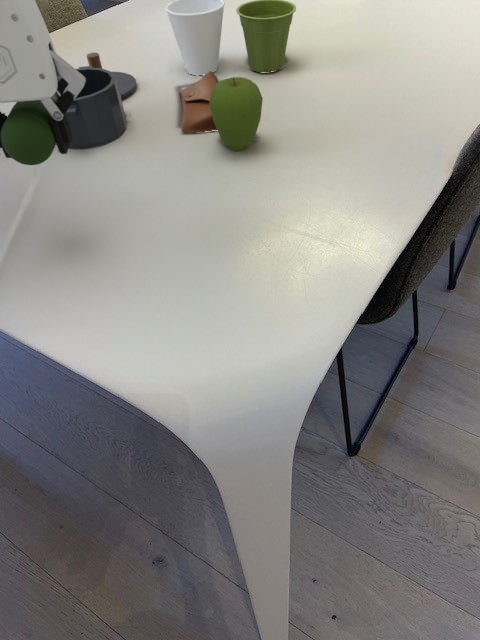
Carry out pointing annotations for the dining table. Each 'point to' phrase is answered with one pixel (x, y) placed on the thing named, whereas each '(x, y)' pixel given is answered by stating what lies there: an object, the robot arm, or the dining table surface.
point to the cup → (197, 32)
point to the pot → (95, 109)
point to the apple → (236, 111)
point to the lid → (123, 79)
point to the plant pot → (266, 32)
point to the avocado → (28, 133)
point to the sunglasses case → (198, 105)
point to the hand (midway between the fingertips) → (38, 148)
